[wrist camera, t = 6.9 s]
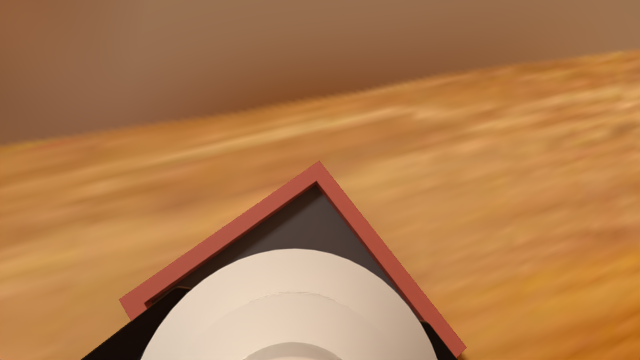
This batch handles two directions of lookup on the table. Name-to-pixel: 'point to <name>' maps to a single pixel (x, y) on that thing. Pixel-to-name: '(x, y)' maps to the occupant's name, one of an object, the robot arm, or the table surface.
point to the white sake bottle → (291, 314)
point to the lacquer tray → (295, 246)
